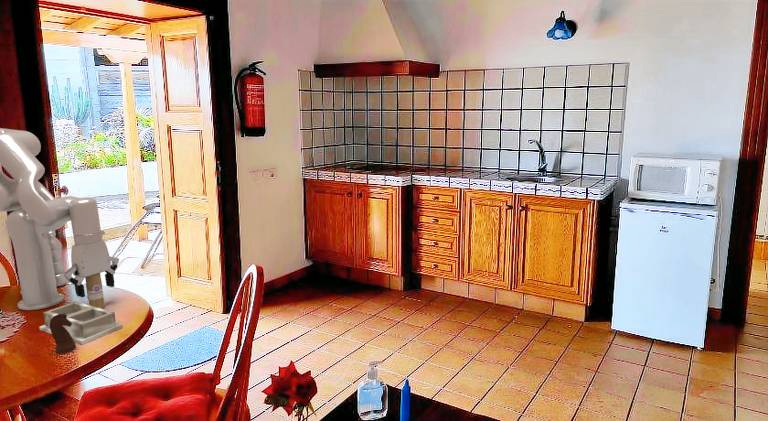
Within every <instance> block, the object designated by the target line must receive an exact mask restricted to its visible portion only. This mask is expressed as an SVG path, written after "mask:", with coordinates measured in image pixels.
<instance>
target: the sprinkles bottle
mask: <svg viewBox="0 0 768 421" xmlns="http://www.w3.org/2000/svg"><path fill="white" fill-rule="evenodd" d="M84 279H85V280H84V281H85V288H86V294H87V296H86V297H87V301H88V305H90V306H94V307H97V308H101V309H103V308H105V305H106V304H105V300H104V290H103V282H102V275H101V273H98V274H94V275H92V276H88V277H85V278H84Z"/></svg>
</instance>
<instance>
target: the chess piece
mask: <svg viewBox="0 0 768 421" xmlns="http://www.w3.org/2000/svg"><path fill="white" fill-rule="evenodd" d="M66 317H67V315H66V314H65V313H63V314H58V315H56V316H54V317H53V318H52V319H51V321H50V330H51V333H52V334H51V335H52V337H53V339H54V341H55V343H56V344H55V352H56V354H59V355H63V354H68V353H71V352H73V351H75V350H76V348H77V345H76V342H74V341H73V338H72V337H71V335H70V333H69V332H68V331H67V330H66V329H65V328H64V327H63V326H69V327H70V326H71V325H72V322H70V321H69V320H68V319H67V318H66ZM62 325H63V326H62Z"/></svg>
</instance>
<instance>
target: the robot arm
mask: <svg viewBox="0 0 768 421" xmlns="http://www.w3.org/2000/svg"><path fill="white" fill-rule="evenodd" d="M41 147H42V145H41V142H40V140H39V138H38V137H37V136H36V135H35V134H33V133H32V132H30V131H27V130H20V129H10V128H1V127H0V165H1V166H2V167H3V168H4V170H5V171H6V172H7V173H8V174H9V175H10V177H12V178H10V177H9V176H7V174H5V173H4V172H3V171H2V170H1V169H0V212H3V213H4V212H10V213H9V214H8V215H7V217H6V221H5V225H6V229H7V232H8V234H9V237H10V239H11V243H12V246H13V250H14V255H15V260H16V267H17V273H18V279H19V285H20V289H21V290H20V291H19V293H20V295H21V296H22V299H21V300H20V301H19V302H17V308H18V309H20V310H22V311H34V310H35V311H36V310H37V311H38V310H42V309H47V308H51V307H53V306H57V305H58V304H60V303H62V302H63V301H64V299H65V297H64V294H62V293H58V288H57V287H56V280H55V273H54V267H53V260H52V254H51V249H50V246H49V244H48V242H47V241H46V240H45V239H44V237H43V234H45V233H48V232H51V231H54V230H55V231H57V230H59V229H61V228H63V227H64V226H65V224H67V222H70V223H71V229H72V230H71V231H72V236H73V241H74V242H73V243H74V244H72V245H71V254H70V256H71V259H70V260H71V261H70V262H71V267H69V268H68V270H66V271H65V273H64V276H65V278H66V279H67V282H69V283H71V284H72V285H74V290H75V295H76V296H77V297H79V298H86V292H85V286H84V284H83V281H85V280H84V279H85V277H88V276H92V275H94V274H98V273H100V274H101V273H104V278H105V285H106V287H109V288H115V278H114V275H115V274H116V270H117V269H118V265H119V262H120V258H118V257H114V256H110V252H109V249H108V247H107V246H108V245H107V242H106V241H105V239H103V236H104V235H106V232H105V231H104V230H102V229H101V228H102V227H101V222H100V221H101V220H100V216H99V215H100V214H99V209H98V203H97V200H96V199H95V198H94V197H78V196H72V195H71V196H70V195H69V196H61V197H57V198H55V196H53V194H51V192H50V191H49V190H48V189H47V188H46V187H45V186H44V185H43V183H41V182H40V181H39V180H40V179H41V178H42V177H43V176H44V174H45V172H46V171H45V170H46V168H45V167H44V165H43V163H41V162H40V161H39V160H38V159H37V157H36V156H37V155H39V153H40V152H41ZM111 262H112V263H111ZM73 276H74V277H73Z"/></svg>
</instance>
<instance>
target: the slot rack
mask: <svg viewBox="0 0 768 421" xmlns="http://www.w3.org/2000/svg"><path fill="white" fill-rule="evenodd" d="M63 313H65V314H66V315H67V317H66V318H67V319H68V320H69V321H70V322H72V325H71V326H70V327H69V326H63V325H62V326H63V327H64V328H65V329H66V330H67V331H68V332H69V333H70V335H71V337H72V338H73V341H74V342H75V344H79V345H84V344H87V343H89V342H91V341H95V340H97V339H98V338H99V339H100V338H102V337H103V336H106V335H109V334H111V333H113V332H115V331H118V330H120V329H122V328H123V324H121V323H118V322H116V312H114V311H111V310H107V309H103V308H97V307H94V306H90V305H89V304H86V303H83V302H79V301H73V302H70V303H67V304H64V305H62V306H59V307H56V308H53V309H50V310H47V311H44V312H43V317H44V318H43V319H44V324H43V325H41V326H39V327H38V328H39V331H41V332H45V333H48V334H49V335H52V333H51V330H50V321H51V319H52V318H53V317H54V316H56V315H58V314H63Z"/></svg>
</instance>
